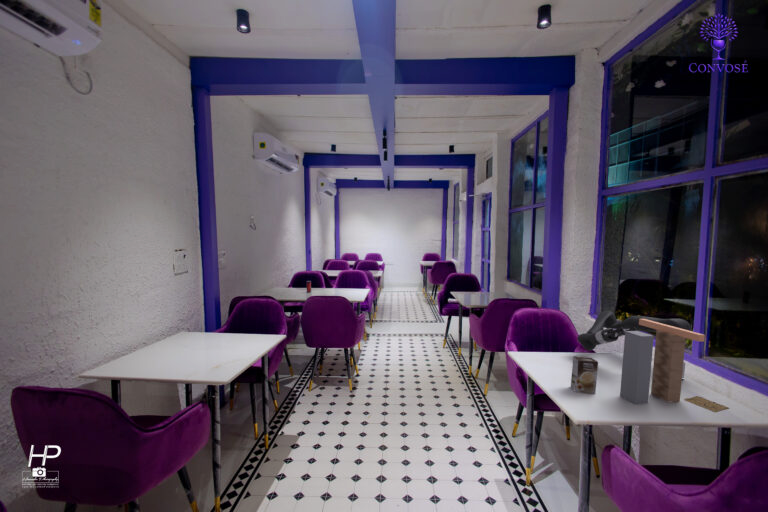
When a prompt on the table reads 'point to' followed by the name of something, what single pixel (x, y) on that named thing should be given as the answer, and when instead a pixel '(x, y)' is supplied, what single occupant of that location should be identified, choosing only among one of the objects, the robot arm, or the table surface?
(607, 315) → the robot arm
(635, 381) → the grey stand
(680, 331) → the bar
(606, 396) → the table surface
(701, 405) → the sandy brown tile
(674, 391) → the walnut stand
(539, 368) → the table surface
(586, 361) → the coffee box
